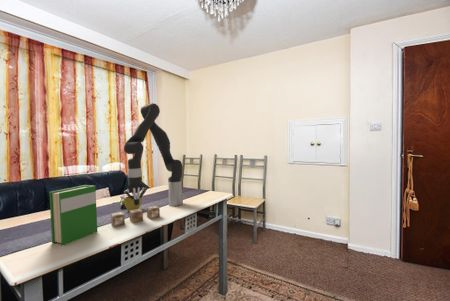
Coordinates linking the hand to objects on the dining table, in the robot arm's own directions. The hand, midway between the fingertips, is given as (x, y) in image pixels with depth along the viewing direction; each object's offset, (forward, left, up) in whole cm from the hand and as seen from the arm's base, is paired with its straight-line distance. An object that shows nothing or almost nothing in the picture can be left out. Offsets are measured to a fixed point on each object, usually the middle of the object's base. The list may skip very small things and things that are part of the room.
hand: (136, 205), depth 134 cm
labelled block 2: (-10, 0, -9) cm, 13 cm away
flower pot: (-4, -24, -9) cm, 26 cm away
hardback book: (+30, +6, -9) cm, 32 cm away
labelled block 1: (+10, 0, -9) cm, 14 cm away
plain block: (0, 0, -9) cm, 9 cm away
